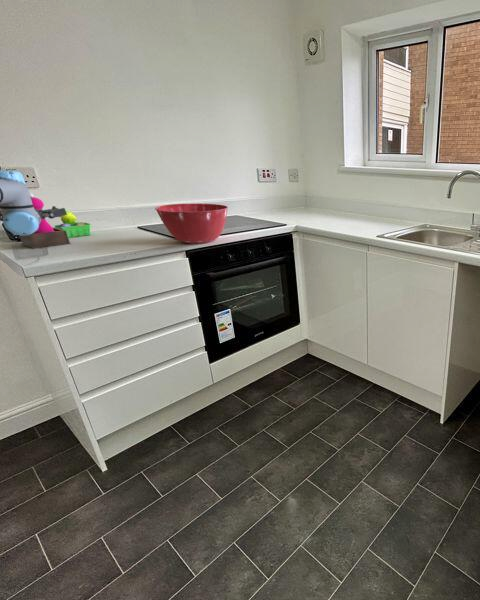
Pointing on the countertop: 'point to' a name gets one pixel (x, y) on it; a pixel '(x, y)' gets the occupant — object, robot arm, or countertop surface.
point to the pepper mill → (44, 225)
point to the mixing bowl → (194, 221)
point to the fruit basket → (73, 226)
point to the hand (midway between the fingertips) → (31, 210)
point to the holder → (45, 239)
